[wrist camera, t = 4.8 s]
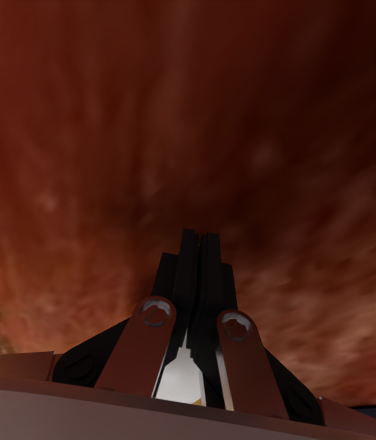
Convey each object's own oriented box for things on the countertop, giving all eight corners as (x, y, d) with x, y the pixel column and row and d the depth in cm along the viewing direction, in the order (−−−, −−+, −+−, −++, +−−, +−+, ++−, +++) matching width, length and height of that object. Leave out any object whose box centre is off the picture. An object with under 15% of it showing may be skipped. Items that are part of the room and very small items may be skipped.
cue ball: (163, 462, 11) (173, 369, 17) (257, 393, 10) (235, 320, 16) (76, 379, 11) (117, 312, 16) (170, 301, 10) (179, 259, 15)
